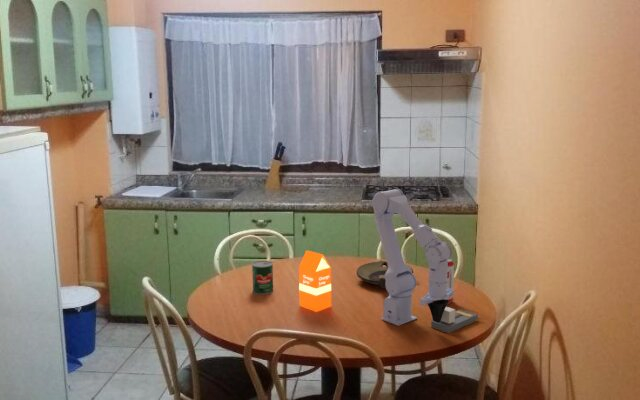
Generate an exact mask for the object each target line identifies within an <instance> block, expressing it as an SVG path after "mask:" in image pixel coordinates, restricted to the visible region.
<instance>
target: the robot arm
mask: <svg viewBox="0 0 640 400" xmlns="http://www.w3.org/2000/svg"><path fill="white" fill-rule="evenodd" d="M371 204H372V208H373V219H374V222H375V227H376V229H377V232H378V236H379V240H380V243H381V246H382V251H383V253H384V257H385V261H387V264H388V270H387V272H386V274H385V279H386V284H385V286H386V288H385V290H386V291H387V293H388V297H386V298H385V299H384V300H383V303H382V304H383V305H382V307H383V308H382V309H383V311H382V312H383V313H382V317H381V318H380V319H381V320H382V321H385V322H387V323H389V324H393V325H395V326H397V327H398V326H399V327H400V326H402V325H405V324H407V323H410V322H412V321H414V320H417V318H418V317H417V316H414V315H412V294H413V293H414V289H415V288H416V287H417V285H418V284H417V282H418V281H417V278H416V276H415V274H414V272H413V273H412V271H411V268H412V267H411V268H410V267H409V266H410V265H408V264H406V263H405V262H404V258H403V254H402V251H401V248H400V244H399V241H398V237H397V233H396V230H395V227H394V223H393V220H392V218H393V217H394V215H395V214H396V215H399V216H400V217H401V219H403V220H404V221H405V223H406V224H407V225H408V226H409V227H410V229H412V231H413V237H414V239H415V240H416V241H417V242H418V243H419V245H420V246H421V247H422V250H424V251H425V253H424V254H425V259H426V260H427V263H428V264H427V266H428V291H427V294H425V295H424V296H422V297H421V298H420V299H419V301H420V305H421V306H423V307H426V306H428V309H429V310H430V313H431V314H430V315H431V318H432V321H434V322H437V323H439V322H441V318H442V315H443V312H444V310H445V307H448V305H449V304H448V300H447V299H449V296H453V297H454V294H455V290H454V288H453V289H450V288H448V289H447V267H448V259H449V258H451V257H452V253H453V251H452V248H451V246H450V245H449V243H448V242H445V241H442V240H441V239H440V238H439V237H438V236H437V234H436V233H435V232H434V231H433V228H432V227H431V226H429V225H428V224H423V223H422V221H421V220H420V218H419V217H418V216H417V214H416V213H415V211H414V210H413V209H412V207H411V205H409V203H408V197H407V195H405V194H404V192H403V191H402V190H401V189H399V188H394V189H391V190H390V189H389V190H386V191H378V192H376V193H375V194H374V195H373V197H372V199H371ZM407 265H408V266H407ZM399 273H400V275H397V274H399Z"/></svg>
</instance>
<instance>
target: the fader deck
mask: <svg viewBox="0 0 640 400" xmlns="http://www.w3.org/2000/svg"><path fill="white" fill-rule="evenodd" d="M478 319H479V315H478V314H477V313H474V312H471V311H468V310H465V309H462V308H460V309H457V310H455V321H454V322H452V323H446V322H443V321H441V322H439V323H437V322H434V321H433V320H431V322H430V325H431V326H430V327H431V328H433V329H436V330H439V331H441V332H444V333H447V334H450V333H452V332H454V331H456V330H460V329H461V328H463V327H465V326H468V325H469V324H473V323H475V322H476V321H478Z"/></svg>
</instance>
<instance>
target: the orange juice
mask: <svg viewBox="0 0 640 400" xmlns="http://www.w3.org/2000/svg"><path fill="white" fill-rule="evenodd" d="M298 281H299V283H298V293H299V307H302V308H304V309H307V310H311V311H313V312H315V313H317V312H320V311H322V310H326V309H328V308H331V307H332V267H331V266H330V264H329V262H328V261H327V259H326V258H325V256H324V254H322V253H318V252H315V251H312V250H305V253H304V254H303V257H302V259H301V262H300V264H299V266H298Z"/></svg>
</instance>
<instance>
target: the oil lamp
mask: <svg viewBox="0 0 640 400" xmlns="http://www.w3.org/2000/svg"><path fill="white" fill-rule="evenodd" d="M406 265H407V266H409V267H410V265H408V264H406ZM410 268H411V271H412V273H413V274H414V269H413V268H412V267H410ZM387 270H388V264H387V261H386V260H380V261H373V262H368V263H364V264H362V265H360V266H359V267H358V268H357V269H356V276H357V277H358V278H359V279H360V280H362V281H364V282H367V283H369V284H373V285H374V286H380V287H381V288H383V289H386V286H385V284H386V279H385V274H386V272H387ZM397 275H400V273H399V274H397Z"/></svg>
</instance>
